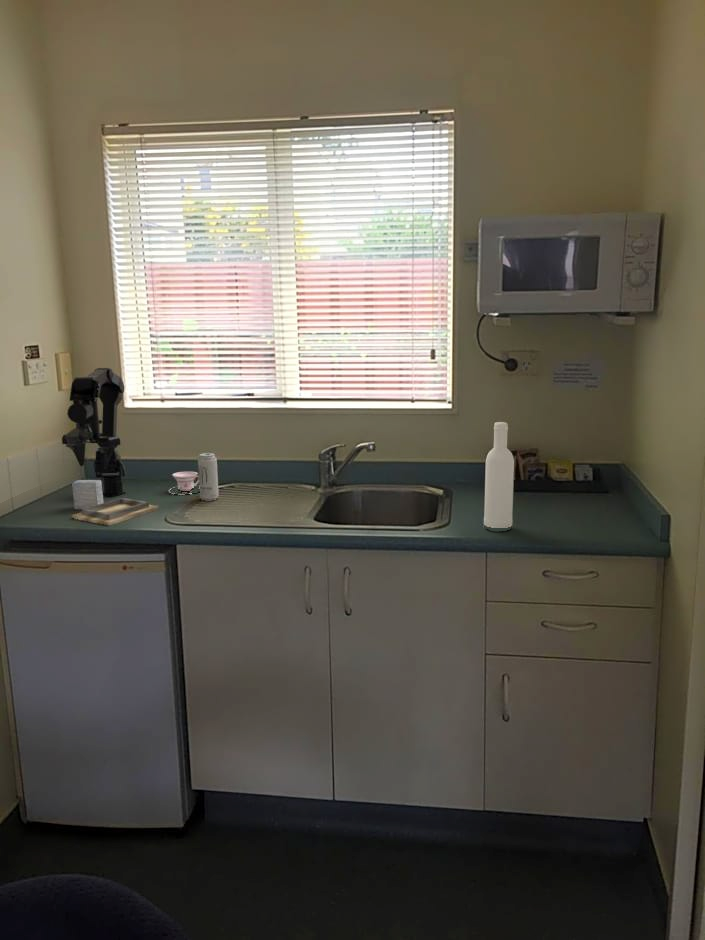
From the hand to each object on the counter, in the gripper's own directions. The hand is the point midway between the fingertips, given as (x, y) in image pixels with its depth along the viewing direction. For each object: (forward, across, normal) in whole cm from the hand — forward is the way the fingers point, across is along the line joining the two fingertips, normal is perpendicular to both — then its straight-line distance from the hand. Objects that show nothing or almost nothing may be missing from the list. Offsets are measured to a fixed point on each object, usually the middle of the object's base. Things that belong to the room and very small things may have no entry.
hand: (93, 467), depth 240 cm
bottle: (+13, +122, +25) cm, 126 cm away
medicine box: (+13, -2, -1) cm, 14 cm away
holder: (+13, +11, -4) cm, 17 cm away
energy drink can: (+13, +28, +22) cm, 38 cm away
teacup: (+14, +14, +28) cm, 34 cm away
